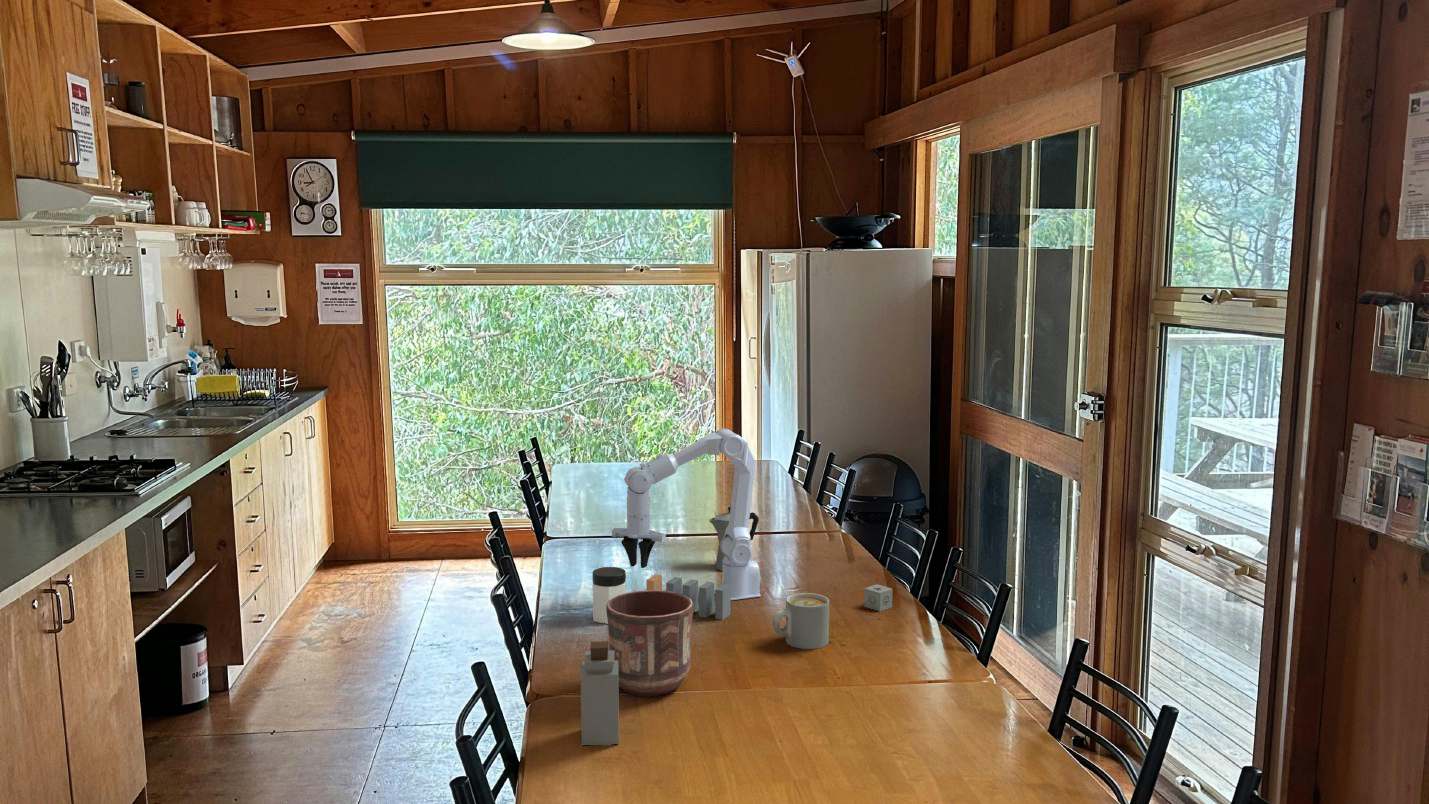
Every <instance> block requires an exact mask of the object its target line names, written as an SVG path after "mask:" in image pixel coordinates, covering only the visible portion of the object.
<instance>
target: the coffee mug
mask: <svg viewBox="0 0 1429 804" xmlns="http://www.w3.org/2000/svg"><path fill="white" fill-rule="evenodd" d="M784 617H785V625H784V627H783V628H780V620H781V619H782V618H784ZM772 627H773V630H774V631H775V633H776V634H777V635H780V636H783V637H785V642H786V644H787V645H788V646H790V647H792V648H797V649H802V650H816V649H821V648H824V647H826V646H827V645H828V644H829V639H830V637H829V635H830V633H829V632H830V630H829V627H830V599H829V598H828V597H827V596H824V595H822V594H820V593H819V594H818V593H812V592H801V593H794V594H790V595H788V596H787V597H786V600H785V608H783V609H779V610H778V611H776V612H775V613H774V615H773V618H772Z"/></svg>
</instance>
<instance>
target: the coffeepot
mask: <svg viewBox="0 0 1429 804" xmlns="http://www.w3.org/2000/svg"><path fill="white" fill-rule="evenodd" d="M727 508H728V510H727V511H728V512H724V513H719V514H716V515H715V516H714V517H711V518H710V519H709V520H708V522H709V523H710V524H711V525H712V526H713V528H714V529H715V531H716V534H717V538H718V539H717V540H718V548H717V554H716V560H715V570H717V569H718V570H717V571H719V570H720V571H719V572H722V571H723V558H724V555H725V554H724V553H723V552H722V551H721V548H720V544H721V541H722V539H723V537H724V535H725V530H726V528H727V526H728V525H729V518H730V509H731V506H728V507H727ZM749 520H752V523H751V528H750V530H749V534H750V538H751V540H750V541H753V540H754V536H755V533H756V531H757V527H758V524H759V521H760V517H759V516H758V515H757V514H756V513H755V512H752V511H751V512H750V517H749Z"/></svg>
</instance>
